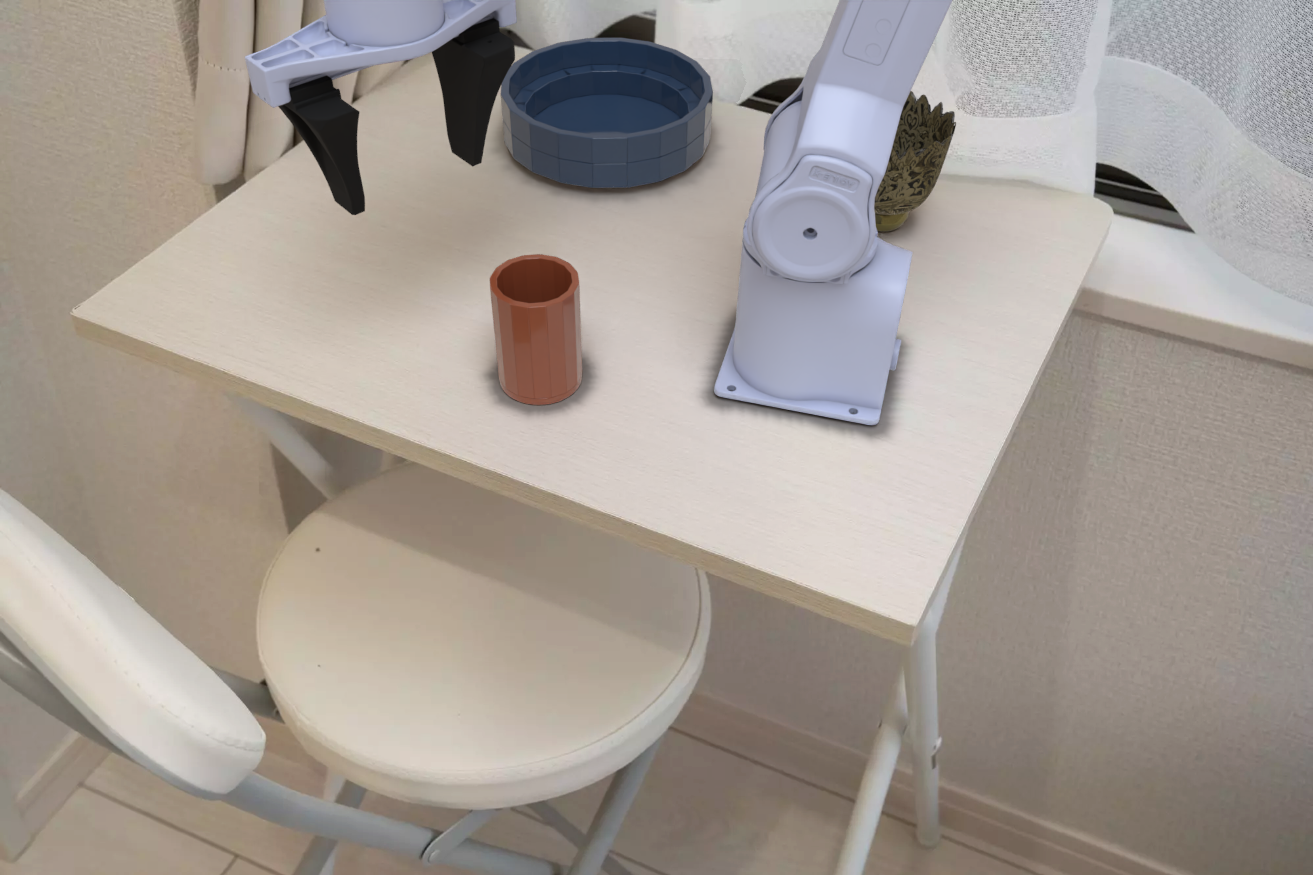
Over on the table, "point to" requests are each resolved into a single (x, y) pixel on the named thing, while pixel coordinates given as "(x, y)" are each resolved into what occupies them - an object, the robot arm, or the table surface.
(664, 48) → the bowl
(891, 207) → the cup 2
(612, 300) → the table surface
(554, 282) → the cup
